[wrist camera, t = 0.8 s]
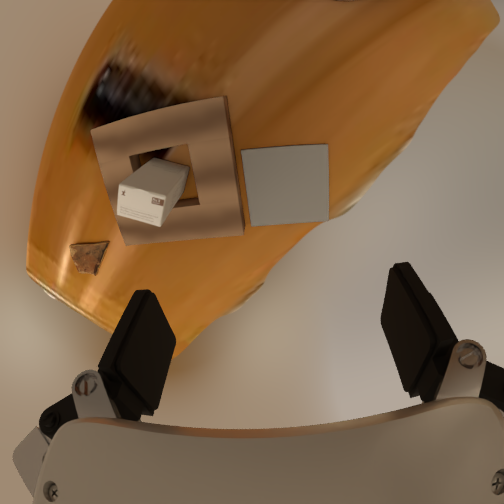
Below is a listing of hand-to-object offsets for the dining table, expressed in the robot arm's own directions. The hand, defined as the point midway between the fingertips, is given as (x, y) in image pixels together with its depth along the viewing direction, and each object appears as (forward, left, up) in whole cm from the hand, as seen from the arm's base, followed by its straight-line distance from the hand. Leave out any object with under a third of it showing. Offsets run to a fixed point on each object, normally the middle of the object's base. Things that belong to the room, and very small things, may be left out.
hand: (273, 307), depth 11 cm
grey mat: (+7, +2, -31) cm, 32 cm away
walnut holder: (+3, -15, -31) cm, 34 cm away
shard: (+15, -37, -32) cm, 51 cm away
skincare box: (+3, -15, -31) cm, 35 cm away
